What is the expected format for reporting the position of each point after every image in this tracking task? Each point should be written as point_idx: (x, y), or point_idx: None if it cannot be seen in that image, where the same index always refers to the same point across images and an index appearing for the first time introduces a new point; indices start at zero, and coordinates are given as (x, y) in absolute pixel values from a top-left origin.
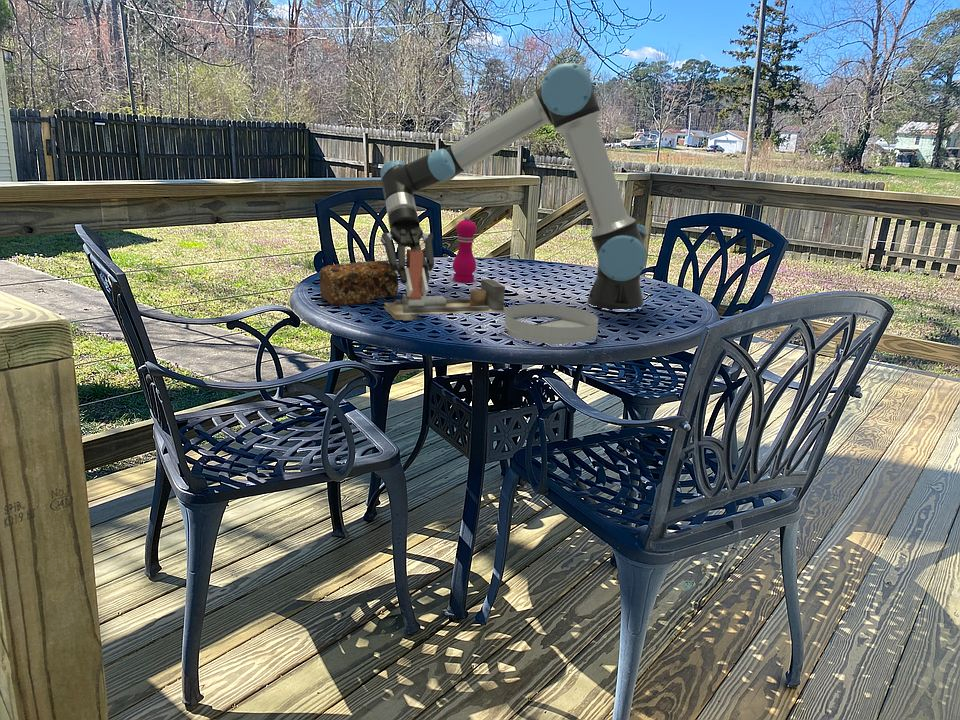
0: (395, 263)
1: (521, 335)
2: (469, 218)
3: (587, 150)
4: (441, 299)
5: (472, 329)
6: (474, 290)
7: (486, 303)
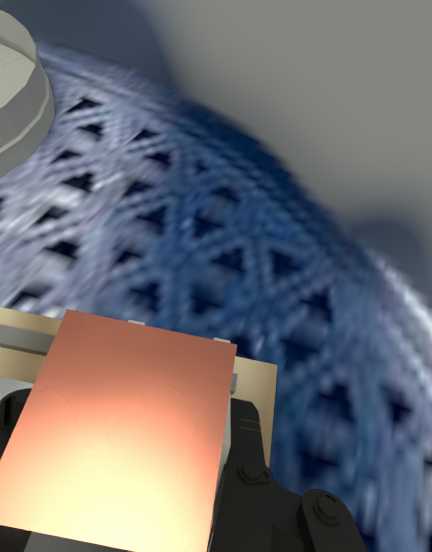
0: (323, 504)
1: (49, 85)
2: None
3: None
4: (28, 383)
5: (83, 207)
6: None
7: None
